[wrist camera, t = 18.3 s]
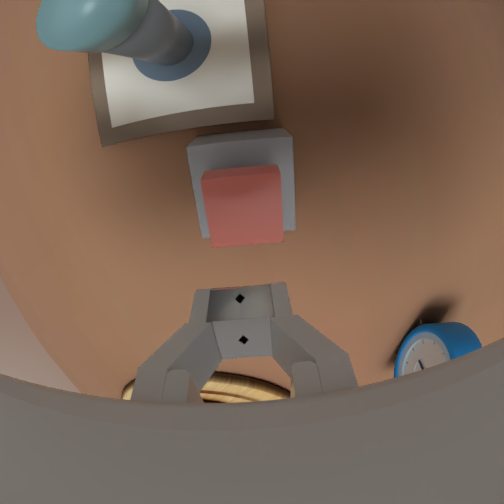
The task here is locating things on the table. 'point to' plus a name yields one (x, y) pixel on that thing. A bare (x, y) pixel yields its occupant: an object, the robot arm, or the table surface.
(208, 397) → the wooden plate with food
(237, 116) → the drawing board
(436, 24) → the table surface
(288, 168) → the button box
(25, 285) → the table surface
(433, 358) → the alarm clock
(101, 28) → the joystick
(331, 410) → the robot arm
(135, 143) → the table surface
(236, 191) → the button
